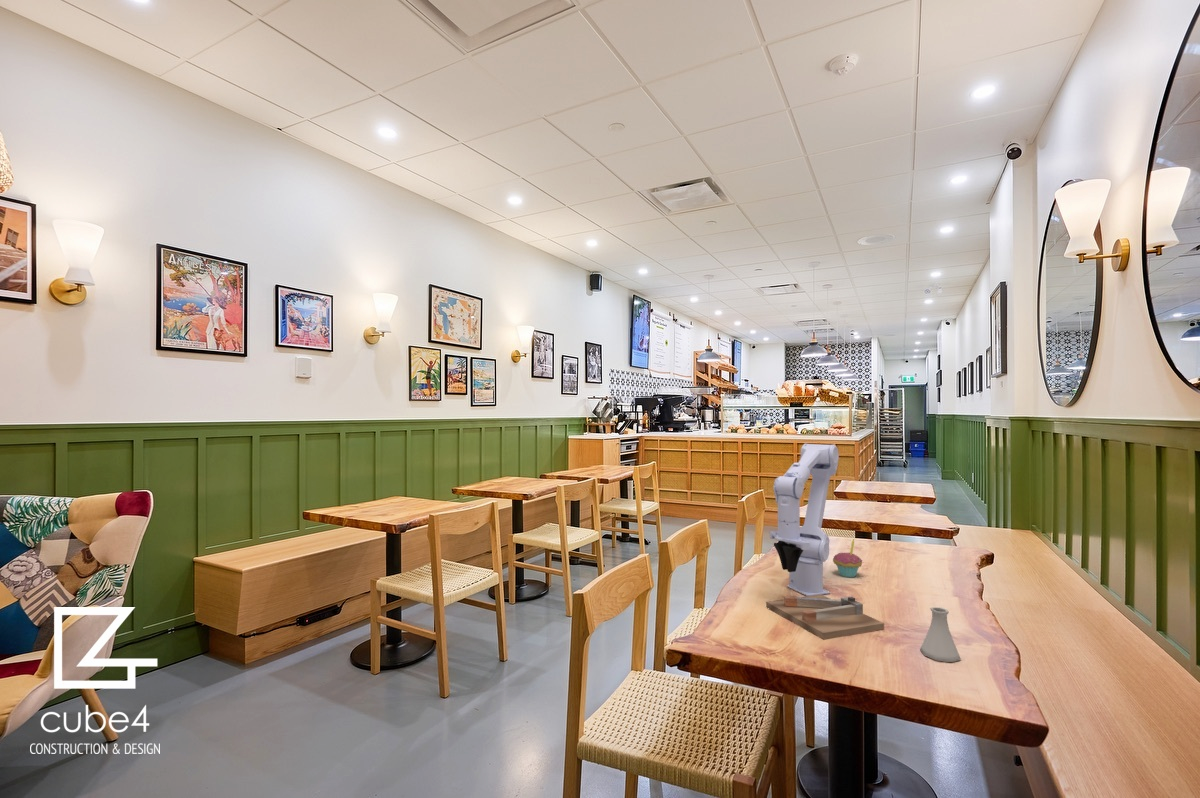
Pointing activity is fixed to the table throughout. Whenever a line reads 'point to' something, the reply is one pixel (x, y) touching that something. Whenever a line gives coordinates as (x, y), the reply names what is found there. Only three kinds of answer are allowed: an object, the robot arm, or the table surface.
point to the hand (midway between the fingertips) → (789, 570)
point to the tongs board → (829, 618)
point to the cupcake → (847, 563)
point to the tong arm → (811, 602)
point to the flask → (939, 638)
